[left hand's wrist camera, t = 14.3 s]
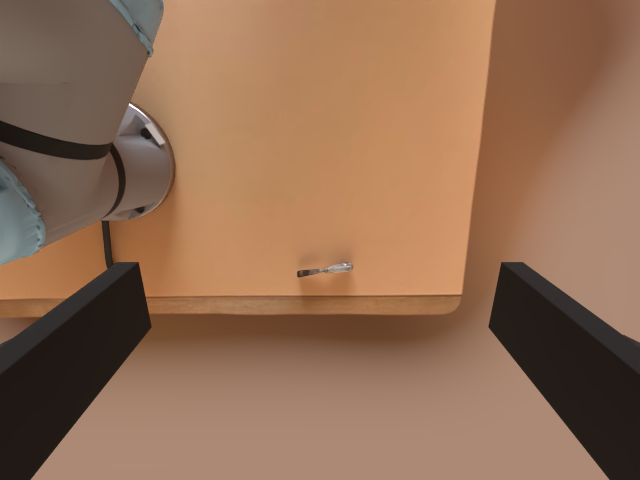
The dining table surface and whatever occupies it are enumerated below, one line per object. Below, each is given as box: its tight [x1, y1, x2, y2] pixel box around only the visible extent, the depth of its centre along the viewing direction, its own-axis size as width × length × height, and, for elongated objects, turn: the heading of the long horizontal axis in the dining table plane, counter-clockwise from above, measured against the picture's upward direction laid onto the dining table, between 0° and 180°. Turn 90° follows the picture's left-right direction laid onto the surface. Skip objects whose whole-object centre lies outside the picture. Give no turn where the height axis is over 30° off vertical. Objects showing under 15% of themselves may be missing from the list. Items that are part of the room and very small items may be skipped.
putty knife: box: [297, 263, 353, 277], centre depth 48 cm, size 1×8×2 cm, turn 100°
